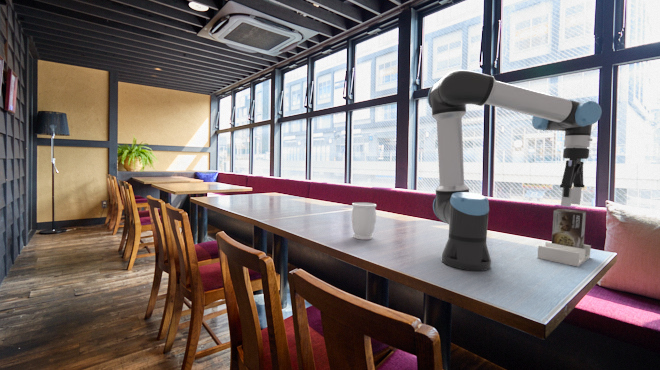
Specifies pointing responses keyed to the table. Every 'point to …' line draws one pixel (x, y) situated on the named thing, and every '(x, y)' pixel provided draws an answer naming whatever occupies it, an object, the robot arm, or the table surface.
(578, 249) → the comb rack
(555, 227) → the coffee box
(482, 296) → the table surface
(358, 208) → the jar
